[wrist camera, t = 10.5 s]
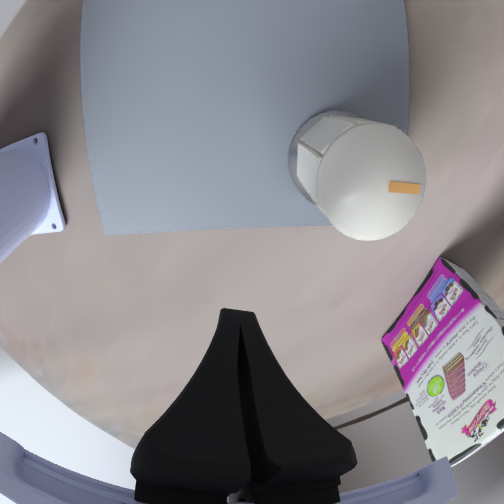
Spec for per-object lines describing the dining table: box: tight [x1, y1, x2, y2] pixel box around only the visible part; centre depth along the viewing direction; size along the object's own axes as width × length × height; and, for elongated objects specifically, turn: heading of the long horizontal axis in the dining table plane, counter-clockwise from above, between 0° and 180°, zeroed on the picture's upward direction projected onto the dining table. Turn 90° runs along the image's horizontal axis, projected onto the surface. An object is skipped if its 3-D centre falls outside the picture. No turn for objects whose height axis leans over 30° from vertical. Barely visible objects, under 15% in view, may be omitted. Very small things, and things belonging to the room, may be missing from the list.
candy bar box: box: [381, 257, 504, 467], centre depth 17 cm, size 11×5×16 cm, turn 161°
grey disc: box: [288, 110, 365, 205], centre depth 14 cm, size 6×6×4 cm
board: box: [80, 0, 410, 236], centre depth 14 cm, size 21×19×1 cm
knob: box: [297, 115, 426, 241], centre depth 14 cm, size 6×6×5 cm
